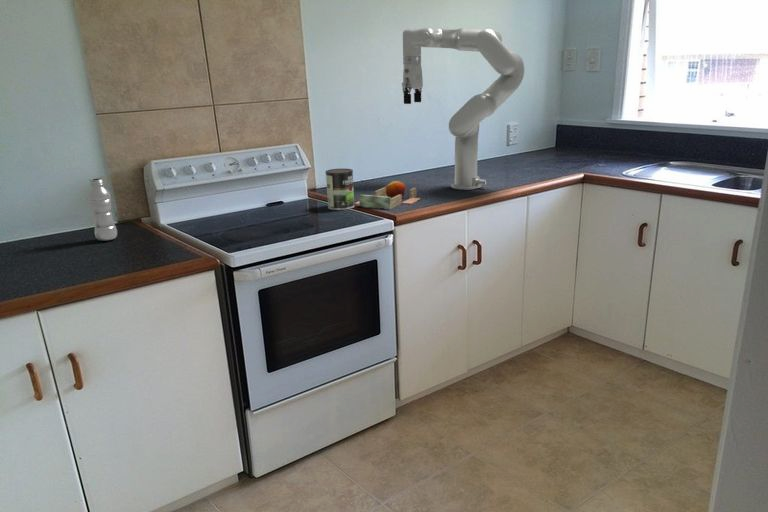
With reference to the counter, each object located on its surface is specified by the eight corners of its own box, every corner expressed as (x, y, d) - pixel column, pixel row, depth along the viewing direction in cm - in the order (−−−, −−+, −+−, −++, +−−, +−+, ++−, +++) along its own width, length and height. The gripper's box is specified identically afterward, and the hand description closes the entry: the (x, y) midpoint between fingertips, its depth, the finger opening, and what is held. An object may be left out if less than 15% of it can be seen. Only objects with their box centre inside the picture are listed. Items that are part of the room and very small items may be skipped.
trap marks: (420, 199, 233) (420, 198, 232) (403, 208, 219) (403, 207, 219) (374, 195, 242) (374, 194, 242) (354, 204, 229) (354, 203, 229)
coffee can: (359, 205, 226) (358, 169, 222) (344, 211, 218) (342, 173, 214) (338, 203, 232) (336, 167, 227) (322, 208, 223) (319, 171, 219)
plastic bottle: (100, 237, 195) (89, 178, 188) (121, 236, 195) (110, 177, 189) (93, 243, 188) (80, 181, 182) (114, 242, 189) (103, 180, 183)
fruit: (394, 198, 229) (388, 179, 231) (386, 205, 236) (381, 187, 238) (412, 195, 233) (406, 177, 234) (403, 202, 240) (398, 184, 241)
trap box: (416, 196, 239) (416, 185, 237) (390, 209, 218) (389, 197, 217) (388, 193, 244) (388, 183, 243) (359, 206, 224) (359, 195, 223)
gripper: (410, 60, 236) (411, 104, 242) (429, 60, 251) (429, 101, 256) (394, 61, 240) (395, 104, 245) (413, 60, 254) (413, 101, 259)
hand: (412, 103), depth 251 cm, fingers open, 9 cm apart
